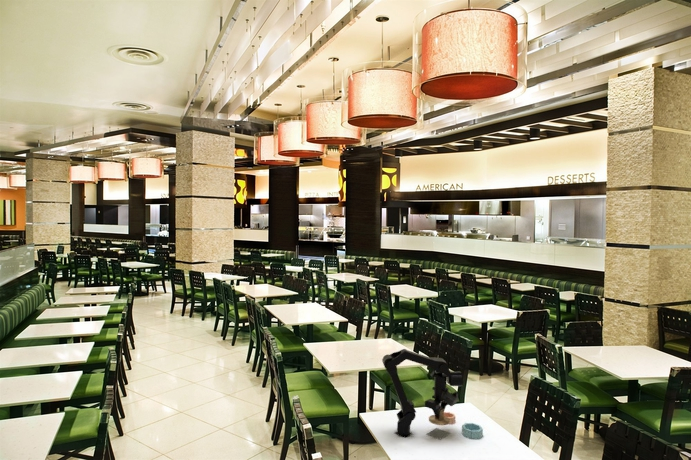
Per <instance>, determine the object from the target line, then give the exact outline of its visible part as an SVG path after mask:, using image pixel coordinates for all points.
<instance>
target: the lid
mask: <svg viewBox="0 0 691 460" xmlns="http://www.w3.org/2000/svg"><path fill="white" fill-rule="evenodd" d="M444 412H445V410H444V409H443V408H441V409H440V414H439V419H436V416H435V414H432V415H429V416H428V422H429V423H431V424H434V425H436V426H447V425H450V424H449V423H450V419H449V418H448V417H446V416H444Z"/></svg>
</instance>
